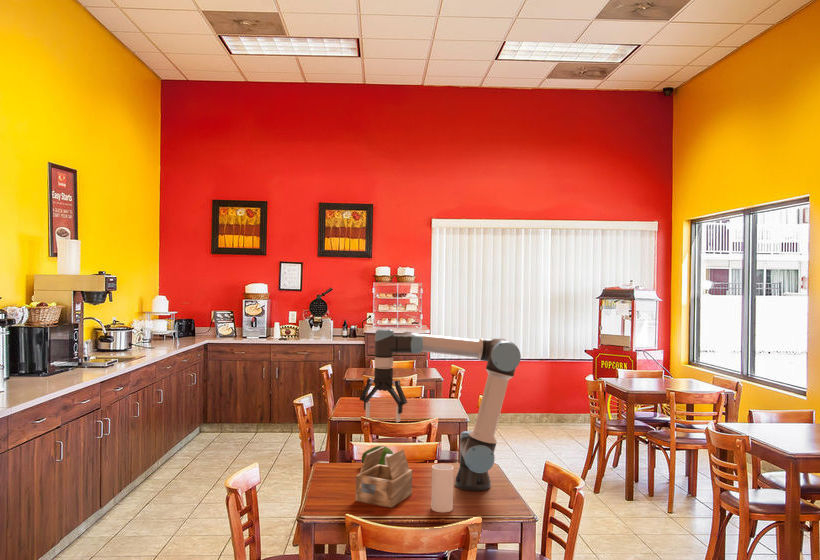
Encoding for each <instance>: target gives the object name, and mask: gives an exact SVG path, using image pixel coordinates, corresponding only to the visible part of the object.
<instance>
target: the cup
mask: <svg viewBox="0 0 820 560" xmlns="http://www.w3.org/2000/svg"><path fill="white" fill-rule="evenodd" d="M431 466H432V467H431V499H430V500H431V501H430V502H431V503H430V504H431V507H430V509H431V510H432V511H434V512H437V513H449V512H452V511H453V510H454V509H453V503H454V502H453V501H454V469H455V468H454V466H453V465H452V464H450V463H449V464H447V463H435V464H432V465H431Z"/></svg>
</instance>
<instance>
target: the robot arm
mask: <svg viewBox="0 0 820 560" xmlns="http://www.w3.org/2000/svg"><path fill="white" fill-rule="evenodd" d="M374 335H375V336H374V337H375V338H374V369H373V370H374V373H373V374H374V378H372V377H369V378H367V379H366V384H365V386H364V389H363V390H362V392H361V395H360V396H359V400H360V401H362V402H363V409H364V410H363V411H365V419H366V420H368V419H369V418H371V401H370V400H371V399H372V397H373V396H374V395H375V394H376V393H377V391H383V392H384V391H385V392H388V393H389V394H390V395H391V397H392V398H393V400H394V401H395V403H396V404H397V405H396V406H395V422H396V423H399V422H401V415H402V413H403V406H404V405H406V404H408V401H407V398H406V396H405V394H404V390H403V388H402V387H401V381H400V379H397V380H393V379H394V378H393V377H394V368H393V367H394V354H413V355H414V354H415V355H416V354H421V353H423V352H424V353H431V354H432V353H435V354H441V355H450V356H459V357H465V358H466V357H467V358H474V359H475V358H476V359H478V361H482V362H487V363H486V366H485V370H486V372H487V377H486V381H485V385H484V389H483V393H482V398H481V401H480V405H479V409H478V413H477V416H476V420H475V425H474V427H473V430H463V431H462V432H460V435H459V436H460V437H459V468H458V469H457V473H456V476H455V479H454V480H455V483H454V484H455V485H454V486H455V487H456V488H459V489H461V490H463V491H464V490H466V491H472V492H474V491H475V492H479V491H486V490H488V489H490V488H491V486H492V485H491V482H492V481H491V479H490V478H491V477H490V474H489V471H490V470H491V469H492V468H493V466H494V463H495V461H496V460H495V450H496V446H497V439H496V438H495V437H496V436H495V434H496V430H497V426H498V424H499V420H500V415H501V411H502V407H503V403H504V400H505V396H506V392H507V389H508V385H509V380H510V379H512V378H514V376H515V373H516V369H517V368H518V366H519V364H520V362H521V357H522V356H521V351H520V349H519V347H518V346H517V345H516V343H514V342H513V341H510V340H508V339H506V338H505V339H504V338H487V337H486V338H483V337H480V338H479V339H473V338H463V337H455V336H446V335H445V336H444V335H436V334H427V333H417V332H412V331H404V332H402V333H401V334H395V332H394V330H393V329H387V328H381V329H377V330H376V331H375V334H374ZM372 384H374V386H373V387H372ZM393 386H394V387H395V388H394V387H393ZM371 387H372V389H371V391H370V388H371ZM395 389H396V391H395ZM369 391H370V392H369Z"/></svg>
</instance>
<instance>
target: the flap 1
mask: <svg viewBox="0 0 820 560" xmlns="http://www.w3.org/2000/svg"><path fill="white" fill-rule="evenodd" d="M383 450H384V447H380V448H378V449H376V450H374V451H372V452H370V453H368V454H366V457H365V459H364V462H363V461H362V466H361V468H360V471H359V474H360V473H363V472H364V471H366V470H368V469H370V468H372V467H374V466H376V465H378V463H379V461H380V458H381V455H382V452H383Z"/></svg>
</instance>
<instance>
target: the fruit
mask: <svg viewBox="0 0 820 560" xmlns="http://www.w3.org/2000/svg"><path fill="white" fill-rule="evenodd" d="M380 447H384V450H383V452H382V455H381V458H380V461H379V463H378V464H380V465H385V456H386V454H394V451H393V450H391V449H390V447H388V446H384V445H378V446H374V447H371V448H369V449H367V450H365V451H364V452H363V453H362V455H361V461H362V463H363V462H364V459H365V457H366V454H368V453H370V452H372V451H374V450H376V449H378V448H380Z"/></svg>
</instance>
